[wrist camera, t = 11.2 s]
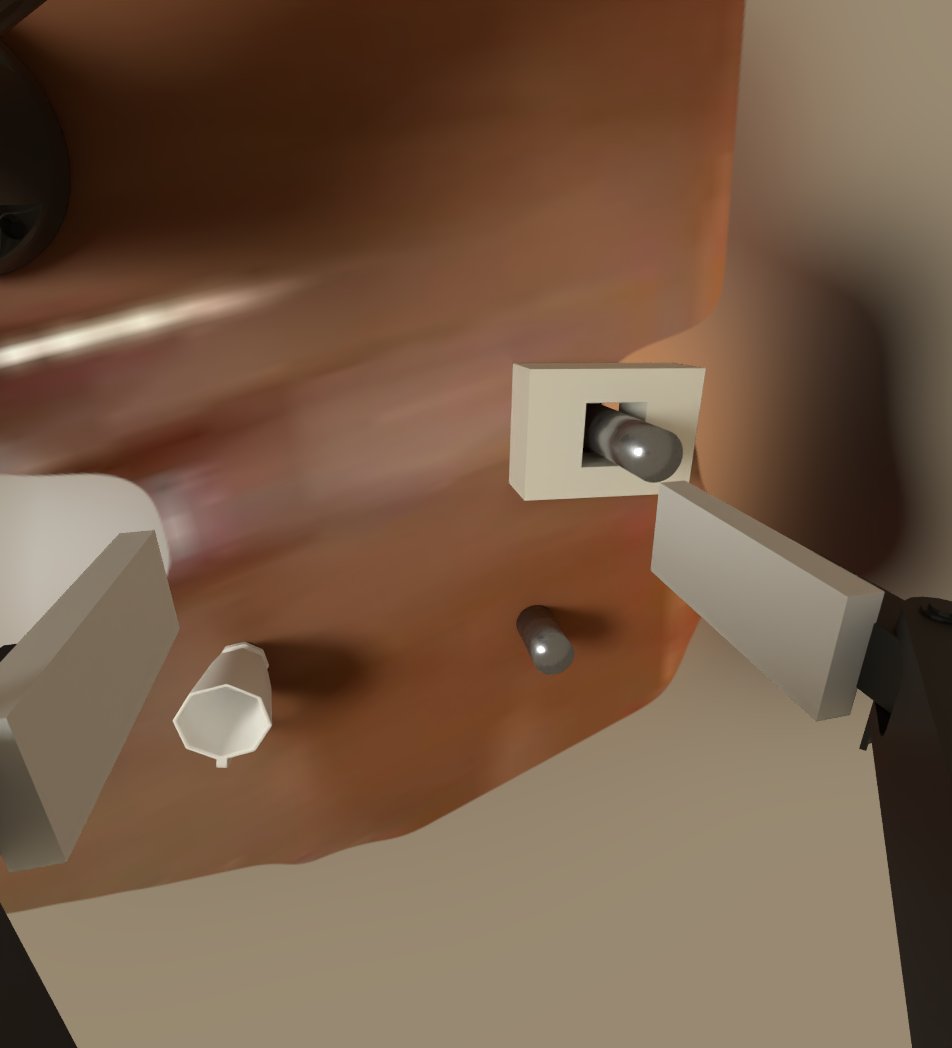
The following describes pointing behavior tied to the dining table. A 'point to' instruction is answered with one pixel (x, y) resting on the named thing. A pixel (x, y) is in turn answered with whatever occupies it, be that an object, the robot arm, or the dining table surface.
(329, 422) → the dining table surface
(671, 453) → the long pin
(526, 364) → the hole block
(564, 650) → the short pin
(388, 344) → the dining table surface
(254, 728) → the cup
